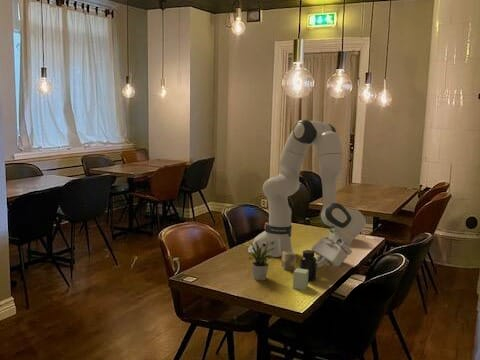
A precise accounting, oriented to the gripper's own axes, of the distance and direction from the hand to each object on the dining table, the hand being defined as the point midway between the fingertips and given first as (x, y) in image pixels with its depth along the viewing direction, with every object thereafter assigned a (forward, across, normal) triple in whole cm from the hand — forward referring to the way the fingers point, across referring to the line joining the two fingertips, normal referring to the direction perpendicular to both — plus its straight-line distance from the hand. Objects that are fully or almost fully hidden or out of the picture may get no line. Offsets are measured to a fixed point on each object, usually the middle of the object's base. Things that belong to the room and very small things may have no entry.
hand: (316, 265), depth 205 cm
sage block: (+12, +8, -4) cm, 15 cm away
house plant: (+21, -6, -14) cm, 26 cm away
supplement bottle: (+6, 0, +1) cm, 7 cm away
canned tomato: (-9, -18, +18) cm, 27 cm away
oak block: (+8, -15, -1) cm, 17 cm away
